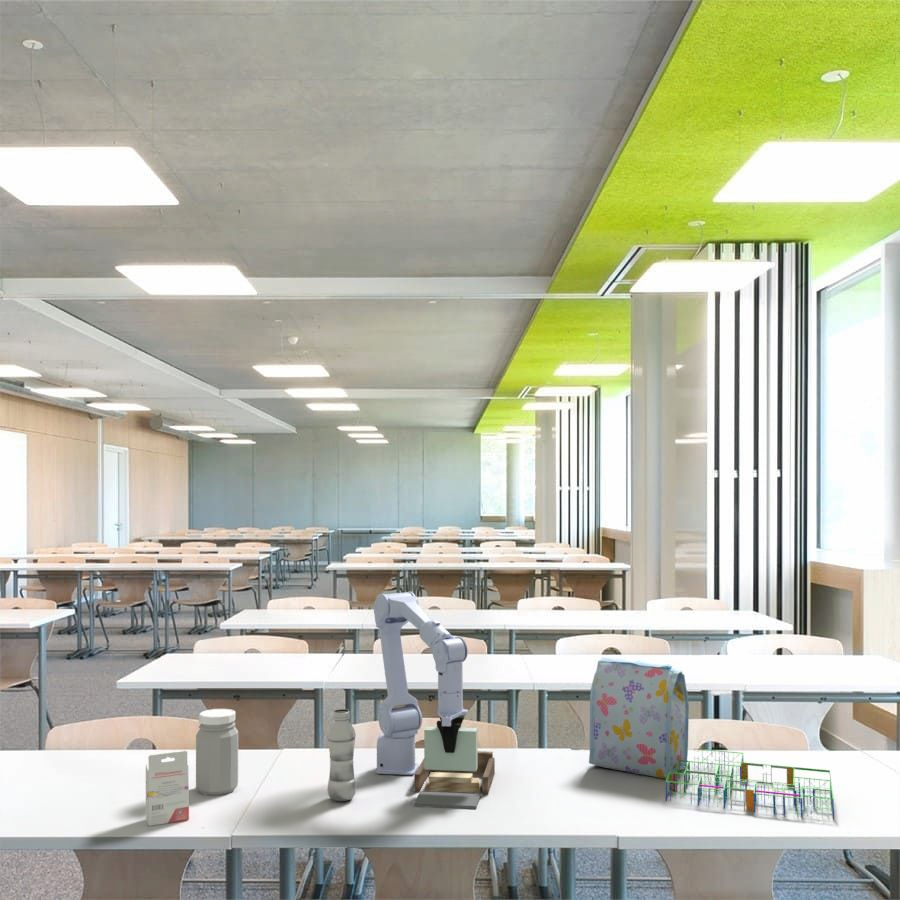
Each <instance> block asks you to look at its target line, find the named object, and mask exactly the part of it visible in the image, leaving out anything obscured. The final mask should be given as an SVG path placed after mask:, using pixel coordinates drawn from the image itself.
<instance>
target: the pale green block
mask: <svg viewBox="0 0 900 900" xmlns="http://www.w3.org/2000/svg"><path fill="white" fill-rule="evenodd" d="M423 731H424V732H423V736H424V738H423V741H424V744H423V745H424V747H423V748H424V749H423V751H424V754H423V755H424V758H423V759H424V769H427V770H453V771H476V770H477V768H478V753H477V751H478V727H460V728H459V730H458V734H457V740H456V747H455V751H454V753H445V750H444V745H443V740H442V736H441V733H440V731H439V729H438V727H437V726H425V727H424V729H423Z"/></svg>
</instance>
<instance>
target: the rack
mask: <svg viewBox="0 0 900 900" xmlns="http://www.w3.org/2000/svg"><path fill="white" fill-rule="evenodd" d="M493 752H494V751H483V750H482V751H480V750H477V753H478V768H477V770H476V771H453V770H427V769H424V758H423V760H422V761H421V763H420V764H419V767H418V768H417V770H416V772H415V773H414V775H413V776H414V793H420V792H421V790H422V789H423V787H422V786H424V785H423V784H425V783H426V782H427V779H428V778H429V776H428V775H430V774H429V773H431V771H435V772H442V773H471V774H483V775H482V795H484V796H485V795H487V796H488V795H489V793H490V790H491V787H492V783H493V780H494V777H495V774H496V771H495V770H496V769H495V766H496V765H495V764H496V763H495V760H496V759H495V758H496V757H494V753H493ZM427 777H428V778H427ZM424 782H425V783H424ZM421 788H422V789H421Z"/></svg>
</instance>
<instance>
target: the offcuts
mask: <svg viewBox="0 0 900 900" xmlns="http://www.w3.org/2000/svg"><path fill="white" fill-rule="evenodd" d="M438 791H440V792H443V793H481V791H482V783H480V777H474V773H455V772H430V774H429V776H428V781H425V785H424V792H438Z"/></svg>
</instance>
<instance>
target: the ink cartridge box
mask: <svg viewBox="0 0 900 900" xmlns="http://www.w3.org/2000/svg"><path fill="white" fill-rule="evenodd" d="M167 758H169V759H174V760H170V761H162V760H165V759H167ZM147 761H148V764H147V763H146V764H145V821H146V823H147V826H157V825H164V824H165V825H166V824H170V823H177V822H182V821H188V820H190V814H189V813H190V801H189V800H190V799H189V798H190V793H189V792H190V790H189V789H190V788H189V785H190V784H189V782H190V781H189V779H190V778H189V771H190V769H189V765H188V751H186V750H183V751H182V750H181V751H174V752H172V751H171V752H165V753H157V754H150V755H149V756H148V760H147Z"/></svg>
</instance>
